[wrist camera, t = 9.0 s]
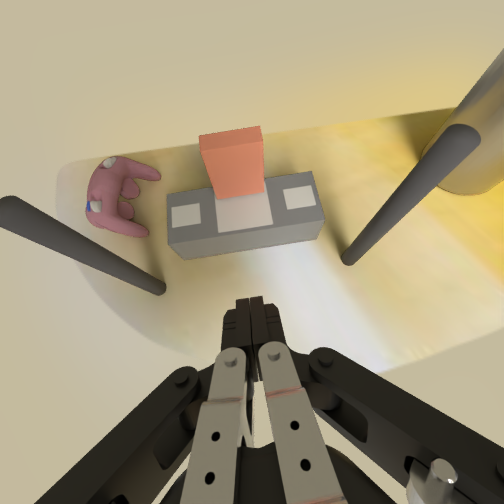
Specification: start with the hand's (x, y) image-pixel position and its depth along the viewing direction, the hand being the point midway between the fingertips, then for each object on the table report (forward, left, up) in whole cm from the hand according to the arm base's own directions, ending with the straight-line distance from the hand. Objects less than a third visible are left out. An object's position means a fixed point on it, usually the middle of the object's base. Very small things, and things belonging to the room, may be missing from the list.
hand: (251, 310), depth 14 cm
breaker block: (0, -12, -13) cm, 18 cm away
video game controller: (+14, -18, -14) cm, 26 cm away
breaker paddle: (0, -14, -8) cm, 16 cm away
